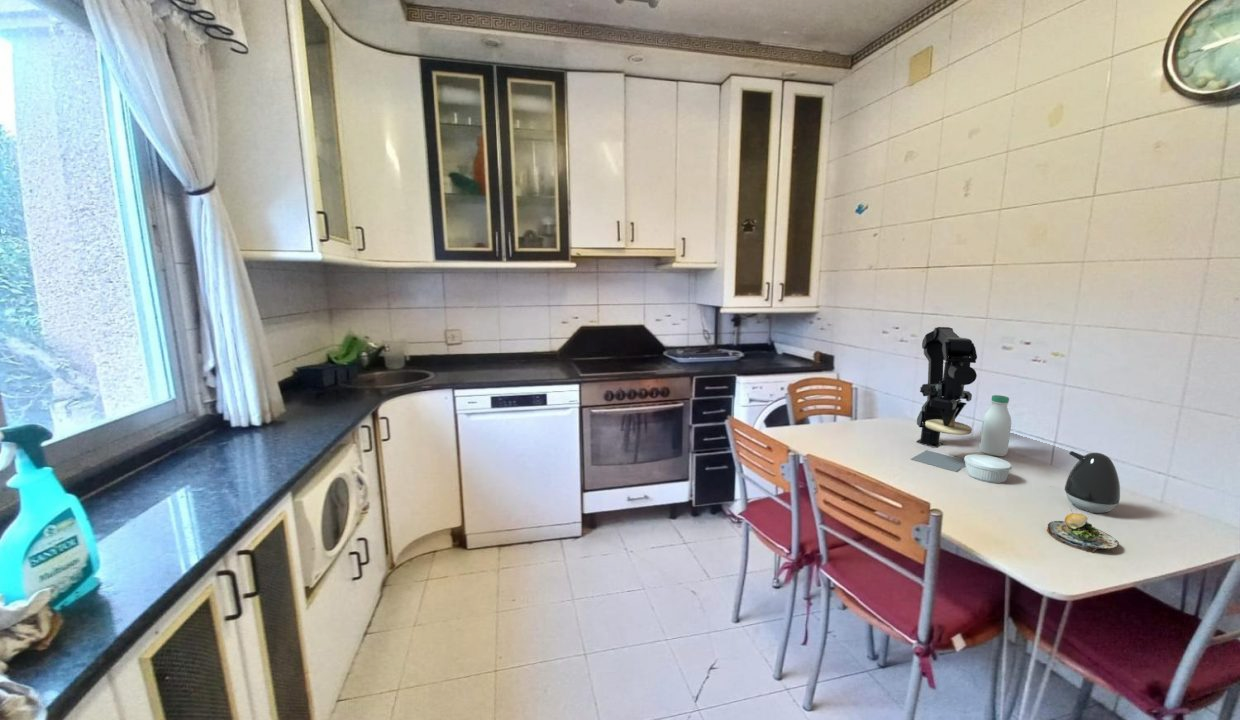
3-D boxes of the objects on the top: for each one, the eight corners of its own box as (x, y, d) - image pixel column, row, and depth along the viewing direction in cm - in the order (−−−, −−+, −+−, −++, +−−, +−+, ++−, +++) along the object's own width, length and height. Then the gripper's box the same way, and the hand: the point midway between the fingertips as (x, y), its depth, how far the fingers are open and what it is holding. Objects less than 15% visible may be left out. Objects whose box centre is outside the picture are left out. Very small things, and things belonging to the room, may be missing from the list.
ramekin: (960, 477, 142) (962, 461, 141) (965, 466, 150) (967, 451, 149) (1007, 488, 135) (1010, 471, 134) (1010, 476, 143) (1012, 460, 142)
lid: (933, 419, 161) (934, 407, 160) (976, 429, 151) (978, 415, 150) (919, 427, 153) (920, 414, 152) (964, 437, 144) (966, 423, 143)
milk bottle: (1012, 456, 158) (1021, 399, 155) (989, 456, 159) (997, 399, 155) (995, 448, 166) (1003, 393, 163) (973, 448, 166) (980, 393, 163)
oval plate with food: (1101, 560, 101) (1107, 528, 99) (1035, 533, 111) (1040, 504, 110) (1128, 547, 105) (1135, 516, 104) (1063, 522, 116) (1068, 494, 115)
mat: (926, 450, 164) (926, 450, 164) (970, 462, 154) (970, 461, 154) (910, 459, 156) (910, 458, 156) (956, 472, 146) (956, 471, 146)
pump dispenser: (1062, 495, 130) (1071, 443, 128) (1116, 508, 123) (1127, 453, 120) (1059, 507, 123) (1069, 452, 121) (1117, 522, 116) (1128, 464, 113)
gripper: (936, 369, 161) (930, 413, 164) (914, 377, 150) (909, 424, 153) (975, 375, 152) (968, 421, 155) (955, 384, 141) (948, 433, 144)
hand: (947, 424), depth 152 cm, fingers closed on lid, 3 cm apart
